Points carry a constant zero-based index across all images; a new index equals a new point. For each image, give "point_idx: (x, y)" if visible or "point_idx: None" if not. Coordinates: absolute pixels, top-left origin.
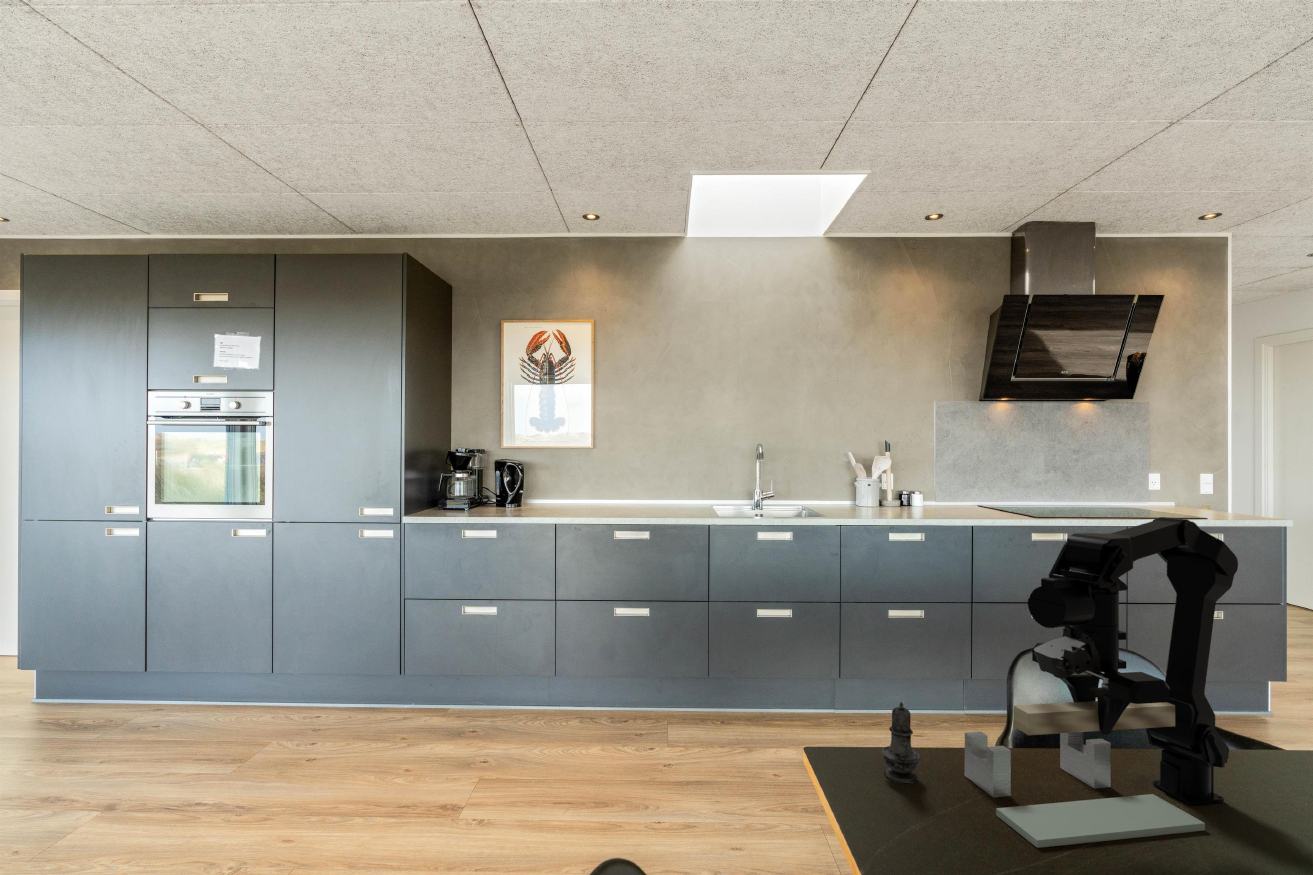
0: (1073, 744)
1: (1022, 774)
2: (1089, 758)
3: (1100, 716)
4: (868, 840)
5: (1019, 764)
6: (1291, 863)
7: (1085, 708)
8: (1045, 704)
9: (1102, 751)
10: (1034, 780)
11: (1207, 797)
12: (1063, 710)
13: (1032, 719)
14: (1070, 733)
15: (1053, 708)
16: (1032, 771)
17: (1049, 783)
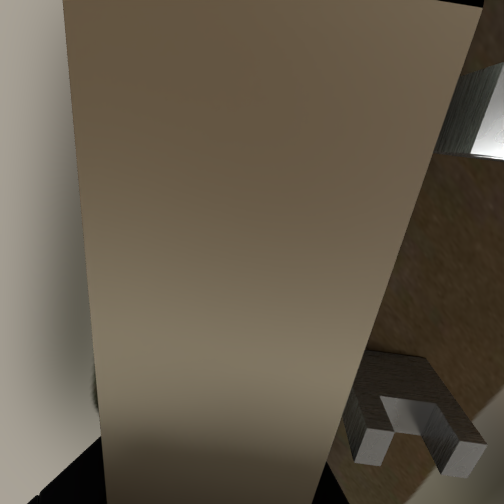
0: (430, 416)
1: (449, 263)
2: (368, 391)
3: (97, 469)
4: None
5: (483, 295)
6: (95, 400)
7: (154, 479)
8: (401, 166)
9: (354, 425)
10: (417, 266)
11: None
12: (127, 226)
13: None
14: (449, 436)
15: (223, 142)
16: (446, 295)
17: (392, 285)
